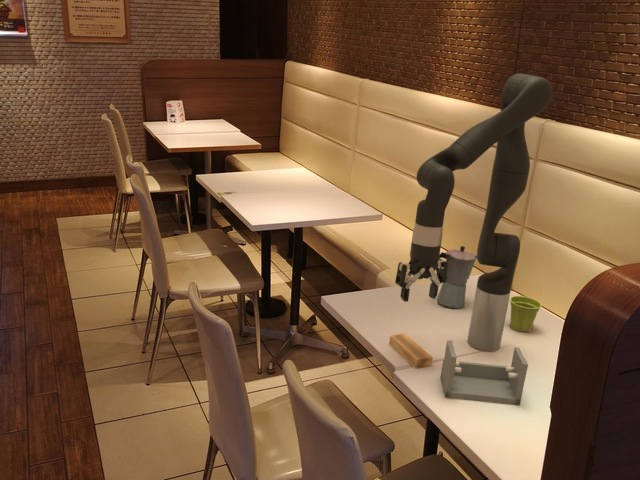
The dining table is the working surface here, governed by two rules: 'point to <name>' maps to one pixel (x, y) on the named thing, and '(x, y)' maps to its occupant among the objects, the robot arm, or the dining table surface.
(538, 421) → the dining table surface
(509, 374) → the grey rack
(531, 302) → the plant pot
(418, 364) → the shelf board
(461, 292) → the moka pot
